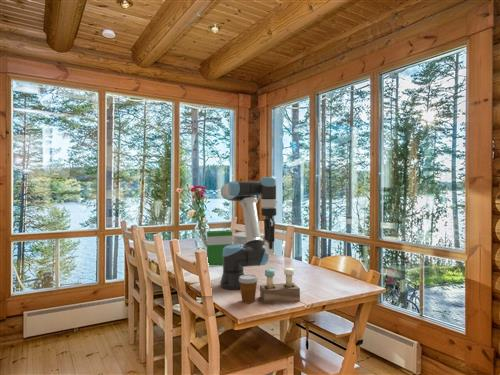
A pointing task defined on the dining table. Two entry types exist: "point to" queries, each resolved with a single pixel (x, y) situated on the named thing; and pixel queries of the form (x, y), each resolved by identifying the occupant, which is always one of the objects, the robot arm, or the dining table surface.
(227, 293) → the dining table surface
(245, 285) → the disposable coffee cup
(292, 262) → the dining table surface
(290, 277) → the knob
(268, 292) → the mount
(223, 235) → the hardback book
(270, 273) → the knob
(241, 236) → the chamber pot
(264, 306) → the dining table surface
